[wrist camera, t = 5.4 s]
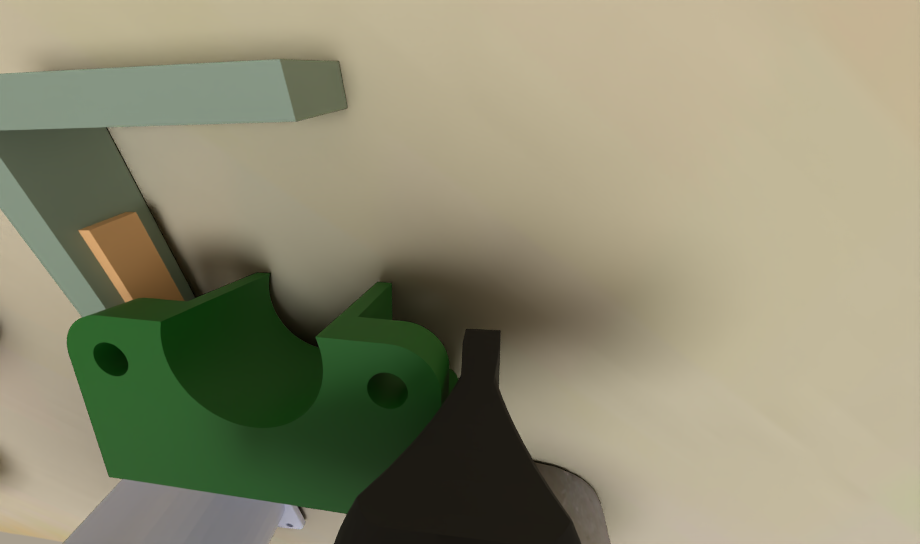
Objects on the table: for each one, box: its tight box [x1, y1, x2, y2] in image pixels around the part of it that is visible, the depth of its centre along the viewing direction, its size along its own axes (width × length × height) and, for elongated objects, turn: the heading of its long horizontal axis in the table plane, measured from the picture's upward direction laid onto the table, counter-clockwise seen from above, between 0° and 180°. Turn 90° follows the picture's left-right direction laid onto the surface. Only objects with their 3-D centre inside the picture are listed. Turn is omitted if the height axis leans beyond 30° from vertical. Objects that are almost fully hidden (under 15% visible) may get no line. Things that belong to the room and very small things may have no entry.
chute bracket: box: [0, 59, 347, 317], centre depth 14 cm, size 10×18×3 cm, turn 2°
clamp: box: [67, 272, 458, 514], centre depth 12 cm, size 12×6×9 cm, turn 83°
